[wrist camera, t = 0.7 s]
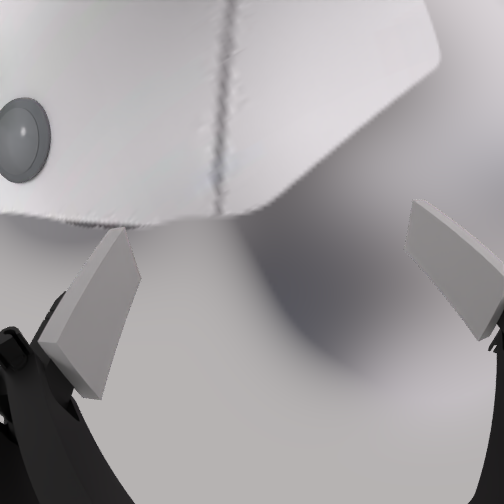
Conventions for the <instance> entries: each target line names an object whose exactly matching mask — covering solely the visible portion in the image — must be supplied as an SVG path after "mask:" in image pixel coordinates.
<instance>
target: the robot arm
mask: <svg viewBox="0 0 504 504" xmlns="http://www.w3.org/2000/svg"><path fill="white" fill-rule="evenodd" d="M404 250H405V252H406V253H407V254H408V255H409V256H410V257H411V258H412V259H413V260H414V262H415V263H416V264H417V265H418V266H419V267H420V268H421V269H422V271H423V272H424V273H425V274H426V275H427V276H428V278H429V279H430V280H431V281H432V282H433V283H434V285H435V286H436V287H437V288H438V289H439V290H440V292H441V293H442V294H443V295H444V297H445V298H446V299H447V300H448V302H449V303H450V304H451V305H452V307H453V308H454V309H455V311H456V312H457V313H458V314H459V316H460V317H461V318H462V320H463V321H464V322H465V324H466V325H467V326H468V328H469V329H470V330H471V332H472V333H473V335H474V336H475V338H476V339H477V340H478V341H480V340H482V339H484V338H486V337H489V336H490V335H491V333H492V331H493V329H494V328H495V326H496V324H497V325H498V326H499V327H500V330H499V331H498V333H497V335H496V336H495V338H494V340H493V341H492V343H491V344H490V346H489V349H488V351H491V349H492V348H493V346H494V345H497V346H496V348H495V349H494V351H493V352H495V353H497V375H496V392H495V402H494V412H493V419H492V426H491V432H490V438H489V443H488V448H487V452H486V457H485V461H484V465H483V469H482V473H481V476H480V480H479V483H478V486H477V489H476V492H475V495H474V497H473V498H472V500H471V501H470V502H469V503H468V504H504V262H503V261H501V260H500V259H499V258H498V257H497V256H496V255H495V254H494V253H493V252H491V251H490V250H489V249H488V248H487V247H486V246H484V245H483V244H482V243H481V242H480V241H479V240H477V239H476V238H475V237H474V236H472V235H471V234H470V233H469V232H468V231H466V230H465V229H464V228H463V227H461V226H460V225H459V224H457V223H456V222H455V221H454V220H452V219H451V218H449V217H448V216H447V215H446V214H444V213H443V212H441V211H440V210H439V209H437V208H436V207H434V206H433V205H431V204H430V203H429V202H427V201H426V200H413V202H412V208H411V214H410V220H409V226H408V231H407V236H406V241H405V246H404ZM140 281H141V276H140V273H139V270H138V267H137V264H136V261H135V258H134V255H133V253H132V249H131V246H130V242H129V239H128V236H127V232H126V229H125V227H120V228H113V229H110V230H109V231H108V232H107V234H106V235H105V236H104V238H103V239H102V240H101V242H100V243H99V244H98V246H97V247H96V248H95V250H94V251H93V253H92V254H91V255H90V257H89V258H88V260H87V261H86V263H85V264H84V266H83V267H82V269H81V270H80V272H79V273H78V275H77V276H76V277H75V279H74V280H73V282H72V284H71V285H70V287H69V288H68V290H67V291H65V292H64V293H63V294H62V295H60V296H59V298H57V299H56V300H55V302H54V304H53V305H52V307H51V309H50V312H48V314H47V315H46V317H45V320H44V321H43V322H42V324H41V326H40V327H39V329H38V331H37V333H36V335H35V336H34V338H33V340H32V342H31V344H30V345H29V344H28V342H27V341H26V340H25V338H24V337H23V335H22V334H21V332H20V331H19V329H18V328H16V327H7V328H5V329H3V330H2V331H1V332H0V414H1V415H2V416H3V417H4V424H3V423H1V422H0V504H135V503H134V502H133V500H132V499H131V498H130V496H129V495H128V494H127V492H126V491H125V489H124V488H123V486H122V485H121V483H120V482H119V481H118V479H117V478H116V476H115V474H114V473H113V471H112V470H111V468H110V466H109V465H108V463H107V461H106V460H105V458H104V456H103V455H102V453H101V452H100V449H99V447H98V446H97V444H96V442H95V440H94V438H93V436H92V434H91V433H90V430H89V428H88V426H87V424H86V422H85V420H84V418H83V416H82V414H81V412H80V410H79V407H78V405H77V403H76V401H75V400H74V398H73V397H72V396H71V395H72V392H73V389H74V388H75V389H76V391H77V392H78V393H79V394H80V395H81V396H82V397H83V398H89V399H97V400H101V399H102V395H103V391H104V388H105V384H106V381H107V377H108V374H109V370H110V367H111V364H112V361H113V357H114V354H115V351H116V348H117V345H118V341H119V338H120V336H121V333H122V330H123V327H124V324H125V321H126V318H127V315H128V313H129V310H130V307H131V304H132V302H133V299H134V296H135V294H136V291H137V288H138V286H139V283H140Z"/></svg>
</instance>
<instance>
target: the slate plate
mask: <svg viewBox="0 0 504 504" xmlns="http://www.w3.org/2000/svg"><path fill="white" fill-rule="evenodd" d="M50 138H51V137H50V125H49V120H48V117H47V115H46V112H45V110H44V109H43V107H42V106H41V105H40V104H39V103H38V102H37V101H35V100H34V99H31V98H17V99H14V100H12V101H10V102H9V103H7V104H6V105H5V106H4V107H3V108H2V110H1V111H0V173H1V175H2V176H3V177H4V178H6V179H7V180H9V181H11V182H14V183H22V182H25V181H27V180H29V179H31V178H32V177H34V176H35V175H36V174H37V173H38V172H39V171H40V170H41V169H42V167H43V165H44V163H45V161H46V159H47V156H48V152H49V148H50Z"/></svg>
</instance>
